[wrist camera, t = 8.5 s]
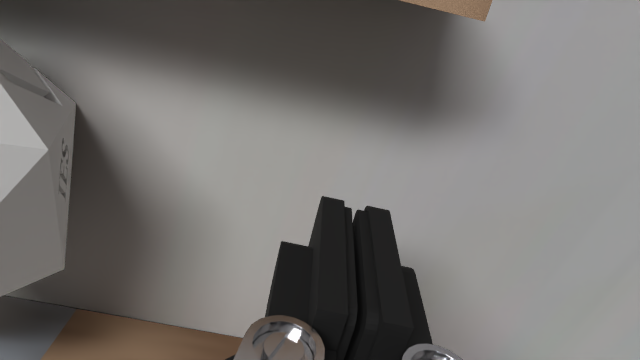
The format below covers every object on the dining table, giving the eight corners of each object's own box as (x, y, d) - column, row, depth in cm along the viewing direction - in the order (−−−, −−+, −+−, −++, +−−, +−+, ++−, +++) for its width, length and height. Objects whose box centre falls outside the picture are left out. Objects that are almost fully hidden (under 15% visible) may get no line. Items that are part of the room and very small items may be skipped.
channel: (455, -41, 13) (507, -42, 9) (323, 375, 19) (323, 470, 16) (-262, -226, 11) (-547, -316, 7) (-138, 294, 18) (-257, 380, 14)
